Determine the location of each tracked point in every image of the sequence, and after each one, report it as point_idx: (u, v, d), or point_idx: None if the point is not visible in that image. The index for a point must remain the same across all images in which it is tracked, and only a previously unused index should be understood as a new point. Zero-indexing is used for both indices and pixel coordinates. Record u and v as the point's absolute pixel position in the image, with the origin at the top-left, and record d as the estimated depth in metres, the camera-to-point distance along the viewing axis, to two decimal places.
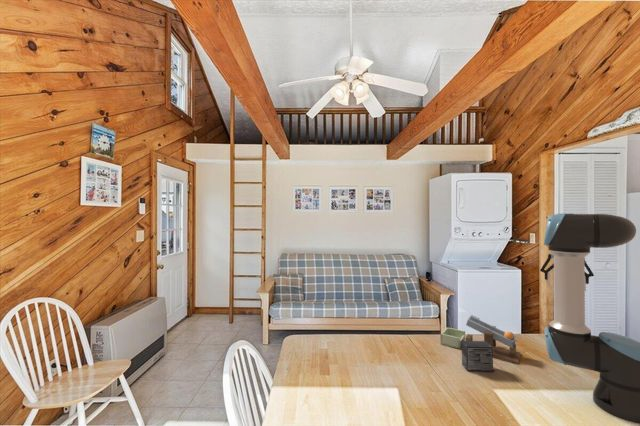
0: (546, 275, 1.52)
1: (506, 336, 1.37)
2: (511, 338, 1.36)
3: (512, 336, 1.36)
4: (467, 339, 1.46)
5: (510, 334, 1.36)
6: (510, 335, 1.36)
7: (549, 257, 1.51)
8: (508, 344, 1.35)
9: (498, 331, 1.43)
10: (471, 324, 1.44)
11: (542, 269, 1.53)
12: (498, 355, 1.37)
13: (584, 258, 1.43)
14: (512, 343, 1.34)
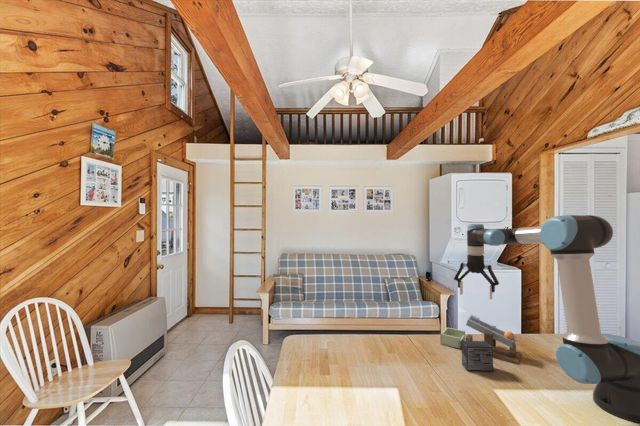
0: (459, 283, 1.58)
1: (506, 336, 1.37)
2: (511, 338, 1.36)
3: (512, 336, 1.36)
4: (467, 339, 1.46)
5: (510, 334, 1.36)
6: (510, 335, 1.36)
7: (461, 266, 1.56)
8: (508, 344, 1.35)
9: (498, 331, 1.43)
10: (471, 324, 1.44)
11: (455, 277, 1.58)
12: (498, 355, 1.37)
13: (490, 267, 1.48)
14: (512, 343, 1.34)
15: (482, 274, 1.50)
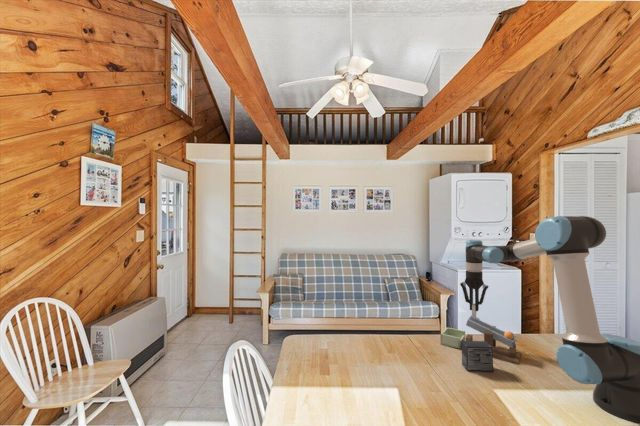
0: (471, 306, 1.54)
1: (506, 336, 1.37)
2: (511, 338, 1.36)
3: (512, 336, 1.36)
4: (467, 339, 1.46)
5: (510, 334, 1.36)
6: (510, 335, 1.36)
7: (462, 286, 1.56)
8: (508, 344, 1.35)
9: (498, 331, 1.43)
10: (471, 324, 1.44)
11: (466, 299, 1.54)
12: (498, 355, 1.37)
13: (486, 289, 1.49)
14: (512, 343, 1.34)
15: (475, 291, 1.52)
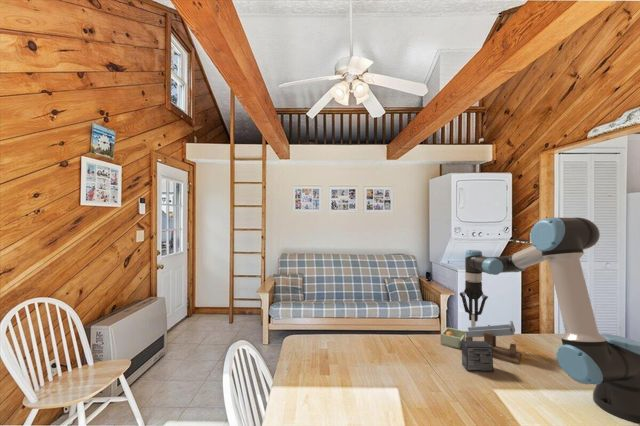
0: (470, 316, 1.54)
1: None
2: (450, 335, 1.52)
3: (449, 333, 1.52)
4: (467, 339, 1.46)
5: (447, 333, 1.53)
6: (447, 334, 1.53)
7: (462, 296, 1.56)
8: (508, 333, 1.35)
9: (496, 327, 1.43)
10: (470, 334, 1.45)
11: (466, 309, 1.55)
12: (498, 355, 1.37)
13: None
14: (510, 330, 1.35)
15: (474, 301, 1.52)
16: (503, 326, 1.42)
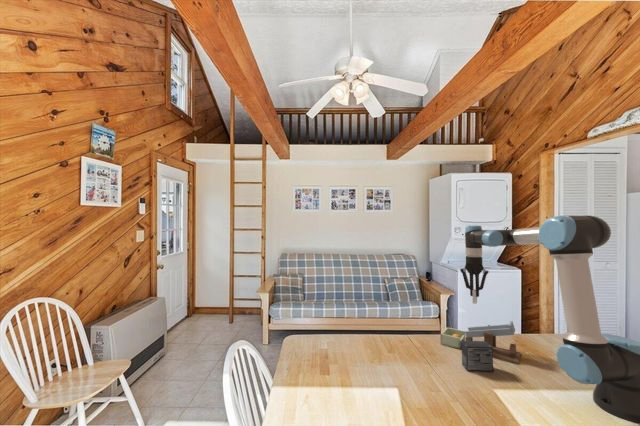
0: (471, 291, 1.53)
1: None
2: None
3: None
4: (467, 339, 1.46)
5: (456, 336, 1.50)
6: None
7: (462, 272, 1.55)
8: (508, 333, 1.35)
9: (496, 327, 1.43)
10: (470, 334, 1.45)
11: (467, 285, 1.54)
12: (498, 355, 1.37)
13: (486, 274, 1.49)
14: (510, 330, 1.35)
15: (475, 276, 1.52)
16: (503, 326, 1.42)
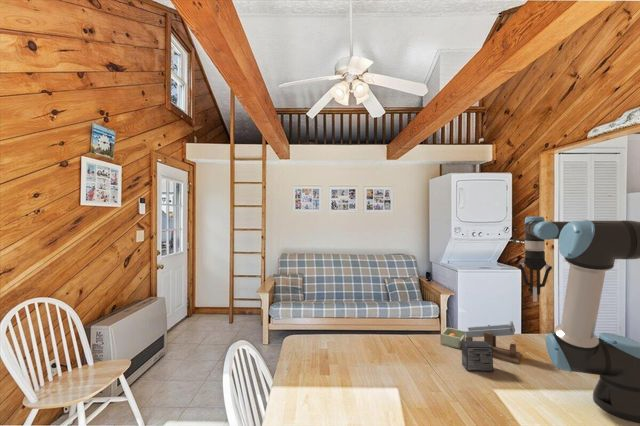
0: (531, 289, 1.40)
1: None
2: None
3: (452, 335, 1.52)
4: (467, 339, 1.46)
5: (450, 335, 1.52)
6: None
7: (521, 267, 1.42)
8: (508, 333, 1.35)
9: (496, 327, 1.43)
10: (470, 334, 1.45)
11: (526, 282, 1.41)
12: (498, 355, 1.37)
13: (550, 269, 1.36)
14: (510, 330, 1.35)
15: (537, 272, 1.38)
16: (503, 326, 1.42)
